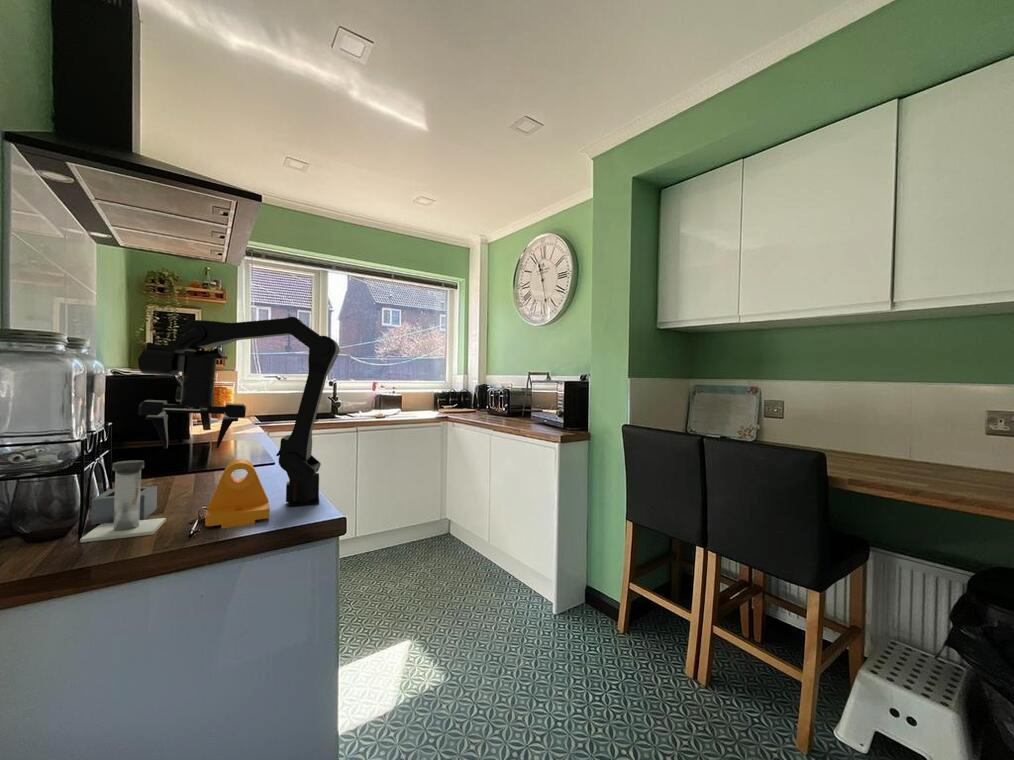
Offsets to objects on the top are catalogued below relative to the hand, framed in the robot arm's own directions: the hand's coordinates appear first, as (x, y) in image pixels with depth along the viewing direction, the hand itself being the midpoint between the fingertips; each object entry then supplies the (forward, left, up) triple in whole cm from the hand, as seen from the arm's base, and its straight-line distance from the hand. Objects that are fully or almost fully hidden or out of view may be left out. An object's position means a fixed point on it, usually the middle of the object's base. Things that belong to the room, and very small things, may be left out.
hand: (192, 448), depth 93 cm
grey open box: (+10, +2, -13) cm, 17 cm away
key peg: (+7, +12, -13) cm, 19 cm away
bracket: (-11, +13, -14) cm, 22 cm away
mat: (+7, +12, -13) cm, 19 cm away
